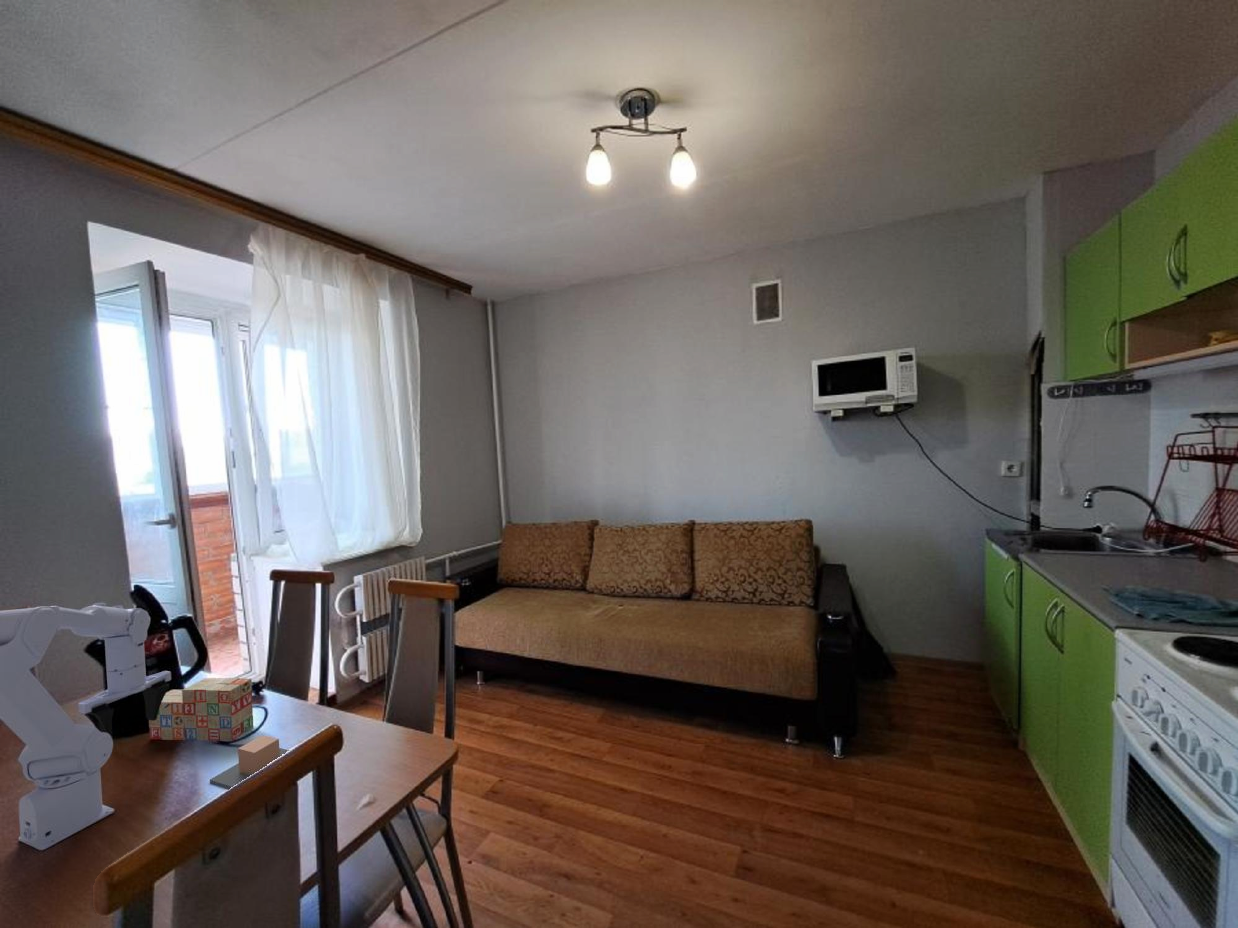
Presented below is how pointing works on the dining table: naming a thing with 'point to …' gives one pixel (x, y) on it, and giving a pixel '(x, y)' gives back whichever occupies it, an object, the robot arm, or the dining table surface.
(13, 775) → the dining table surface
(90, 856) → the dining table surface
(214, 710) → the stack of blocks
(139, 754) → the dining table surface
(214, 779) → the charcoal mat
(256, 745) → the tan cube
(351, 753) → the dining table surface
